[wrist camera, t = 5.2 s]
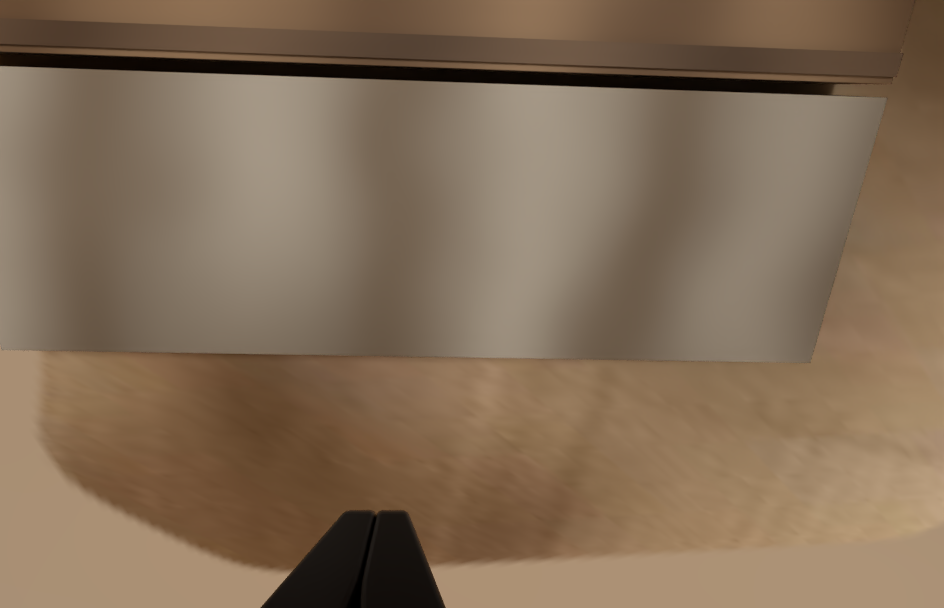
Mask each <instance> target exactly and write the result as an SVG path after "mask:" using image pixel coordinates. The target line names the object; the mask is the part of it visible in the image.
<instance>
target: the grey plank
mask: <svg viewBox="0 0 944 608" xmlns="http://www.w3.org/2000/svg"><path fill="white" fill-rule="evenodd" d="M886 101H887V98H881V97H860V96H839V95H813V94H785V93H757V92H729V91H701V90H672V89H644V88H616V87H588V86H560V85H532V84H504V83H476V82H448V81H420V80H392V79H364V78H336V77H308V76H280V75H252V74H224V73H195V72H167V71H139V70H111V69H83V68H55V67H27V66H0V346H1V349H2V350H35V351H97V352H159V353H221V354H283V355H345V356H407V357H469V358H531V359H593V360H655V361H717V362H779V363H810V362H811V359H812V355H813V352H814V348H815V345H816V342H817V338H818V335H819V331H820V328H821V324H822V321H823V318H824V314H825V311H826V307H827V304H828V300H829V297H830V294H831V290H832V287H833V283H834V280H835V276H836V273H837V270H838V266H839V263H840V259H841V256H842V252H843V249H844V246H845V242H846V239H847V235H848V232H849V228H850V225H851V221H852V218H853V215H854V211H855V208H856V204H857V201H858V197H859V194H860V191H861V187H862V184H863V180H864V177H865V173H866V170H867V167H868V163H869V160H870V156H871V153H872V149H873V146H874V143H875V139H876V136H877V132H878V129H879V125H880V122H881V119H882V115H883V112H884V108H885V105H886Z"/></svg>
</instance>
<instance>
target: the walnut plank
mask: <svg viewBox="0 0 944 608" xmlns="http://www.w3.org/2000/svg"><path fill="white" fill-rule="evenodd" d="M914 3H915V0H0V54H27V55H54V56H82V57H109V58H136V59H164V60H191V61H219V62H246V63H274V64H301V65H328V66H356V67H383V68H411V69H438V70H466V71H493V72H520V73H548V74H575V75H603V76H630V77H658V78H685V79H712V80H740V81H767V82H795V83H822V84H892V80H893V77H897V74H898V71H899V67H900V64H901V60H902V57H903V53H900V52H901V49H902V45H903V42H904V38H905V35H906V31H907V28H908V24H909V21H910V17H911V14H912V10H913V7H914Z"/></svg>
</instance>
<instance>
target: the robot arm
mask: <svg viewBox="0 0 944 608" xmlns="http://www.w3.org/2000/svg"><path fill="white" fill-rule="evenodd" d="M261 608H446V607H445V605H444V603H443V600H442V597H441V595H440V592H439V590H438V587H437V585H436V582H435V579H434V577H433V574H432V572H431V569H430V567H429V564H428V562H427V559H426V556H425V554H424V551H423V549H422V546H421V544H420V541H419V539H418V536H417V533H416V531H415V528H414V526H413V523H412V521H411V518H410V516H409V514H408V513H407V512H406V511H403V510H382V511H380V512H378V514H377V515H376V513H375V512H374V511H372V510H349V511H346V512H344V513H343V514H342V515H341V516H340V517H339V519H338V520H337V521H336V522H335V523H334V524H333V525H332V527H331V528H330V529H329V530H328V531H327V532H326V533H325V535H324V536H323V537H322V538H321V539H320V540H319V541H318V543H317V544H316V545H315V546H314V547H313V548H312V549H311V551H310V552H309V553H308V554H307V555H306V556H305V557H304V559H303V560H302V561H301V562H300V563H299V564H298V565H297V567H296V568H295V569H294V570H293V571H292V572H291V573H290V575H289V576H288V577H287V578H286V579H285V580H284V581H283V583H282V584H281V585H280V586H279V587H278V588H277V590H276V591H275V592H274V593H273V594H272V595H271V597H270V598H269V599H268V600H267V601H266V602H265V603H264V605H262V607H261Z"/></svg>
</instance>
